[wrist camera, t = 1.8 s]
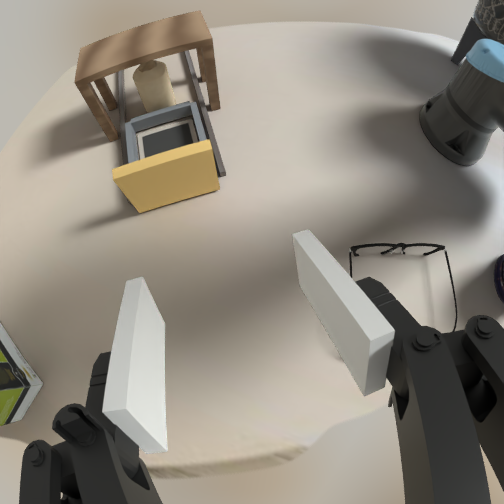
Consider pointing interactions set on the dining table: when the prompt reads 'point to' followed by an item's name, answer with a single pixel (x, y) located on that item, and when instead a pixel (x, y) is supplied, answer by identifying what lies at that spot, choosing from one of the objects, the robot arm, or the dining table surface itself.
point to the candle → (154, 85)
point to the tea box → (15, 381)
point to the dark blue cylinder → (499, 277)
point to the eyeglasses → (404, 253)
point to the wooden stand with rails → (143, 50)
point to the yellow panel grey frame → (167, 164)
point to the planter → (482, 27)
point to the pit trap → (167, 138)
